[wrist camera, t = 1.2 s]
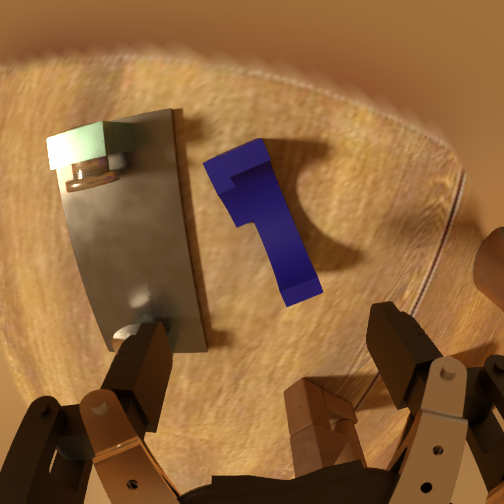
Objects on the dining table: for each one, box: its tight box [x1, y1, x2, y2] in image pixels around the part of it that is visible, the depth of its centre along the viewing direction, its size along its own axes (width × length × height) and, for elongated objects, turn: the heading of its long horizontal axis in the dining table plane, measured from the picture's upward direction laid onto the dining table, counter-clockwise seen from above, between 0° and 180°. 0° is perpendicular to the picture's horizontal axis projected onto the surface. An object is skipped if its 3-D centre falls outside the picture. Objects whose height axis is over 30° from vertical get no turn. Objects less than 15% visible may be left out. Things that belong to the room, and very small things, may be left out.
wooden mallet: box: [284, 378, 367, 478], centre depth 26 cm, size 4×11×18 cm, turn 49°
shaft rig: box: [47, 108, 208, 366], centre depth 23 cm, size 12×24×6 cm, turn 4°
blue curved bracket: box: [203, 138, 323, 307], centre depth 23 cm, size 12×4×6 cm, turn 24°
